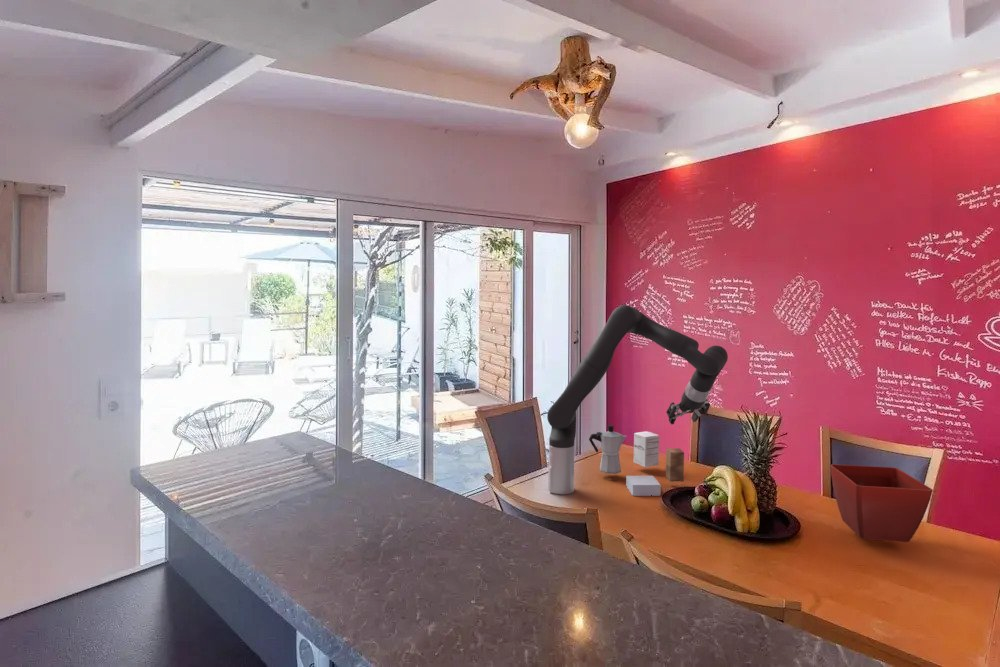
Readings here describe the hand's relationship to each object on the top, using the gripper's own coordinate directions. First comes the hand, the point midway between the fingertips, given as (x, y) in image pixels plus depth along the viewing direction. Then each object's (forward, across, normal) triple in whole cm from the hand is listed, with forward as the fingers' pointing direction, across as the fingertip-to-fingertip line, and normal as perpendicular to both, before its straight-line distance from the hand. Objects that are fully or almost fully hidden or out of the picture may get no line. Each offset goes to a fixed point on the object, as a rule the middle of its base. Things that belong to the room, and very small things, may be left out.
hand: (682, 421), depth 197 cm
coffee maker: (+31, +21, -1) cm, 38 cm away
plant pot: (-9, -36, +51) cm, 64 cm away
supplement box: (+35, +3, -4) cm, 35 cm away
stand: (+23, +14, +13) cm, 30 cm away
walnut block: (+23, 0, +10) cm, 25 cm away
